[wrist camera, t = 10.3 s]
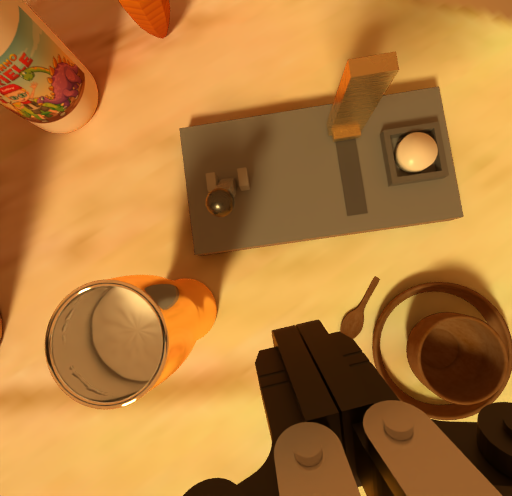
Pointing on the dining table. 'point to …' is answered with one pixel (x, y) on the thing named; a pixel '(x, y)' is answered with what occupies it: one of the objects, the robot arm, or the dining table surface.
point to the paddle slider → (360, 94)
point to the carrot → (149, 15)
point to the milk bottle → (42, 73)
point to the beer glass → (125, 336)
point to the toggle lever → (222, 198)
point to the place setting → (447, 352)
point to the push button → (415, 152)
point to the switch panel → (317, 175)
